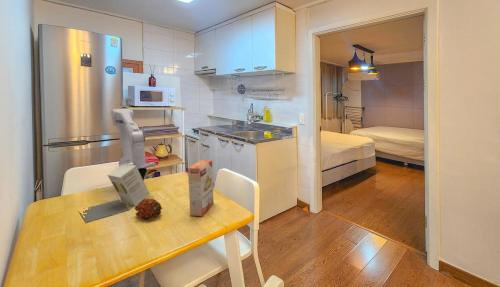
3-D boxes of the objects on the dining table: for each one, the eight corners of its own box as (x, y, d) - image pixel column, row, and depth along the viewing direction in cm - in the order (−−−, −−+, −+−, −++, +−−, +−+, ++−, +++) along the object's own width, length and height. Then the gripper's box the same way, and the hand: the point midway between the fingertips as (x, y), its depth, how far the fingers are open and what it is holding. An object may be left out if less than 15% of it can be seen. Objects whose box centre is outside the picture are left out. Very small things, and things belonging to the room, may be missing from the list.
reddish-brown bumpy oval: (162, 223, 104) (138, 224, 107) (169, 204, 109) (145, 206, 113) (151, 212, 98) (125, 214, 101) (159, 193, 104) (134, 195, 107)
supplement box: (122, 203, 121) (106, 174, 113) (137, 190, 128) (122, 163, 120) (136, 206, 116) (119, 177, 108) (150, 193, 123) (136, 165, 115)
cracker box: (203, 217, 104) (200, 168, 101) (189, 216, 106) (186, 167, 102) (214, 203, 118) (212, 159, 114) (202, 202, 119) (200, 159, 115)
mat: (78, 210, 113) (78, 210, 113) (119, 200, 124) (119, 199, 124) (86, 223, 101) (85, 222, 101) (130, 209, 113) (130, 209, 113)
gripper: (125, 160, 113) (129, 189, 115) (157, 154, 122) (159, 181, 125) (120, 158, 118) (123, 186, 120) (151, 152, 128) (153, 178, 130)
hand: (141, 183), depth 123 cm, fingers closed, pressing on supplement box
